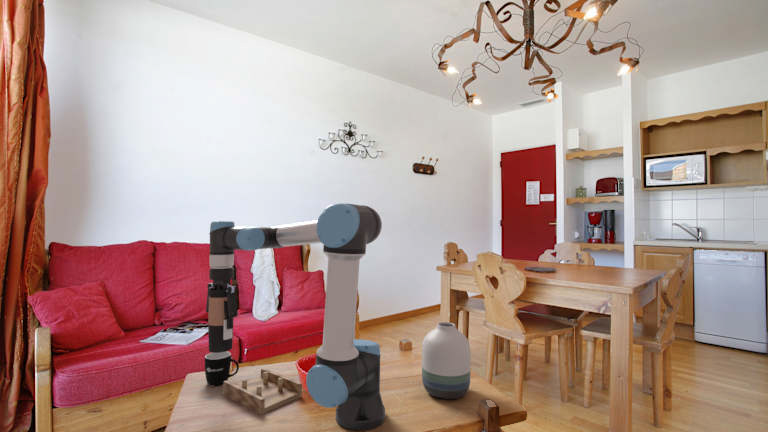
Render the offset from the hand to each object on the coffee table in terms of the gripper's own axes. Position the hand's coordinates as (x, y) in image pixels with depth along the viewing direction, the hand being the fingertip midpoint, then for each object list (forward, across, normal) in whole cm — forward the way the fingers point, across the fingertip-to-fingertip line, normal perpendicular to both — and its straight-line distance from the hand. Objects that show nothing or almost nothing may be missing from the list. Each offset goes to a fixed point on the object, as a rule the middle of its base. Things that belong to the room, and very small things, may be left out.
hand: (220, 336), depth 124 cm
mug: (+22, +15, -9) cm, 28 cm away
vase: (+23, -55, -53) cm, 80 cm away
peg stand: (+22, -6, -12) cm, 25 cm away
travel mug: (+4, 0, 0) cm, 4 cm away
